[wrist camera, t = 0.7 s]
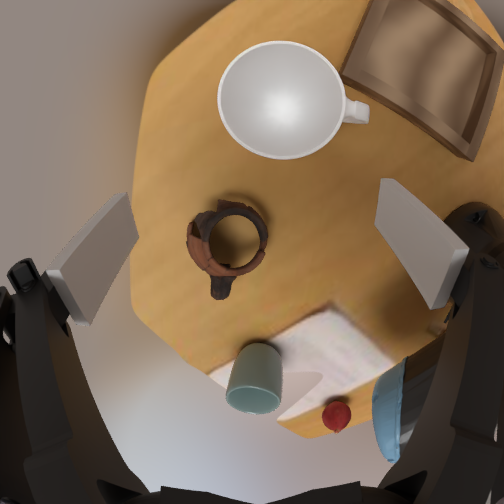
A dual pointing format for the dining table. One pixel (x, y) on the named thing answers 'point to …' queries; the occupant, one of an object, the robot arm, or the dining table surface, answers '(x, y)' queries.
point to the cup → (256, 380)
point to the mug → (284, 100)
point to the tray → (428, 69)
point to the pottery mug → (202, 254)
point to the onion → (336, 416)
